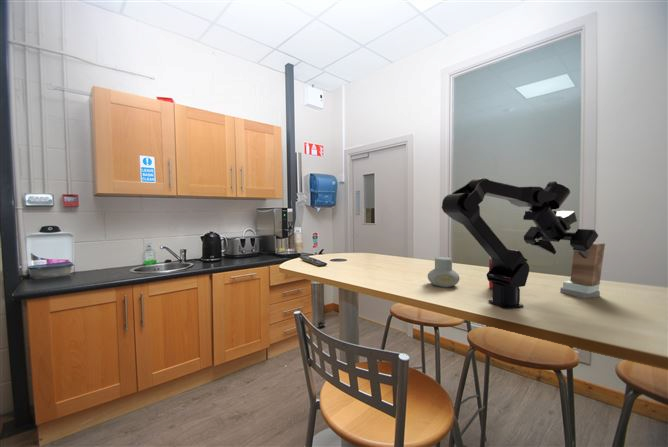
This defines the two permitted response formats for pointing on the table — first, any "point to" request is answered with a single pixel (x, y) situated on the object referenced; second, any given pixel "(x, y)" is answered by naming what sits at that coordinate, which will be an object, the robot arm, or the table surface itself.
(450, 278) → the air freshener
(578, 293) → the tower base
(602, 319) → the table surface
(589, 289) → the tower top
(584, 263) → the walnut post
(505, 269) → the robot arm
